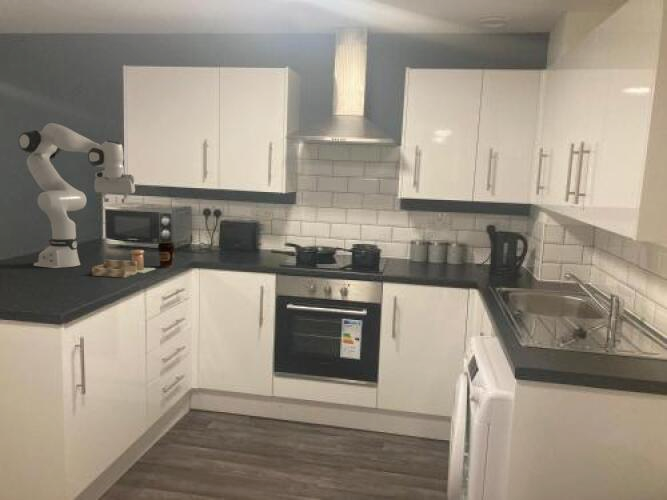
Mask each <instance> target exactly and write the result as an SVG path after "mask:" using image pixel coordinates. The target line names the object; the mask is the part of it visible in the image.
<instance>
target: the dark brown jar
mask: <svg viewBox="0 0 667 500" xmlns="http://www.w3.org/2000/svg"><path fill="white" fill-rule="evenodd" d="M175 247H176V245H175V244H174V242H173V241H161V242H160V241H159V243H158V245H157V248H158V260H159V267H160V268H173V266H174V265H173V260H174V258H175V257H174V256H175V252H174V251H175Z"/></svg>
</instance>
